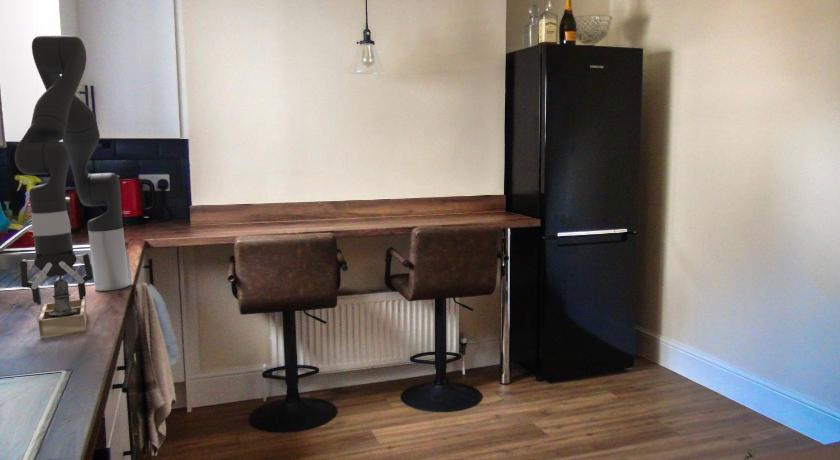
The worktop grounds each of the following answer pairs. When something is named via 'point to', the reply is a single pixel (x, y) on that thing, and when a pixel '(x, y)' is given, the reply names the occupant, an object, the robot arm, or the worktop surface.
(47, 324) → the caddy
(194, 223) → the worktop surface
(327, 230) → the worktop surface
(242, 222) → the worktop surface
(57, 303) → the grey stone statue
